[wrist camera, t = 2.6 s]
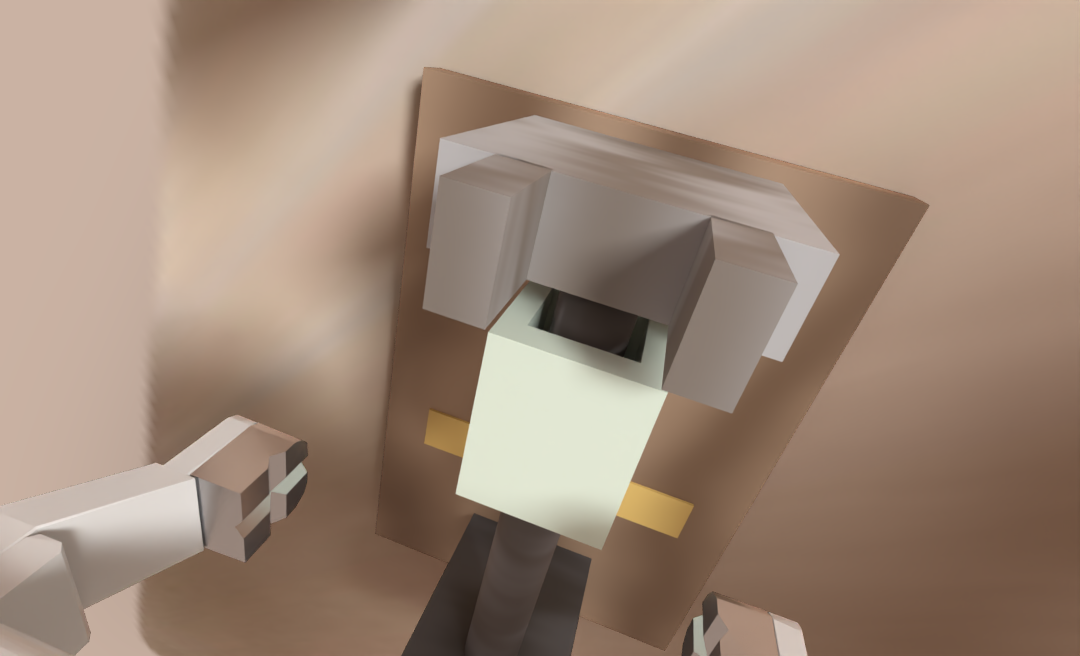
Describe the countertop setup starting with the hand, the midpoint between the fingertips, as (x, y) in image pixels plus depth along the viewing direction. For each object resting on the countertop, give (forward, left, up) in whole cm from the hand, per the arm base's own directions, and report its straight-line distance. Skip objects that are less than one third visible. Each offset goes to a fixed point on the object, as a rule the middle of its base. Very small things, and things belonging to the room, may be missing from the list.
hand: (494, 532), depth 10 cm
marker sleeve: (0, 0, -7) cm, 7 cm away
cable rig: (0, +5, -12) cm, 13 cm away
